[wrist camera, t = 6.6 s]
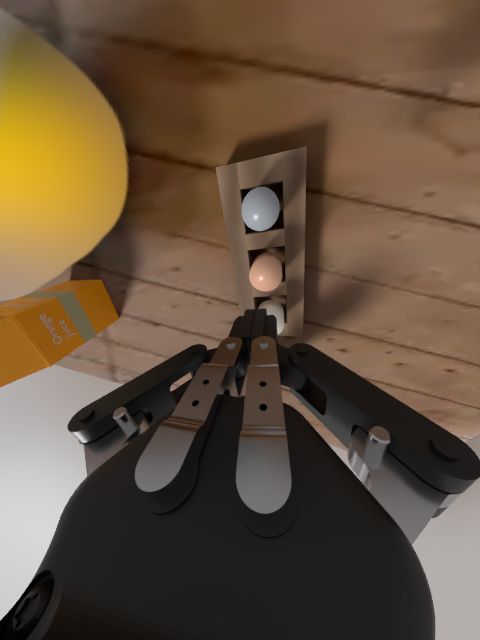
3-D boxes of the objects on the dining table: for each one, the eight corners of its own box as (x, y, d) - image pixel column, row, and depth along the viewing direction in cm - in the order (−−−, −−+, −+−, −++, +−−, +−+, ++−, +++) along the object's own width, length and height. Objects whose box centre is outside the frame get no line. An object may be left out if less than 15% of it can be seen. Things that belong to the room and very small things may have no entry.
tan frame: (303, 153, 22) (306, 146, 19) (301, 325, 34) (303, 335, 31) (222, 171, 24) (215, 167, 22) (246, 327, 36) (244, 336, 33)
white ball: (283, 299, 28) (283, 311, 25) (284, 321, 30) (284, 336, 27) (256, 300, 29) (253, 312, 26) (259, 322, 31) (256, 336, 28)
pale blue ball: (278, 186, 22) (278, 183, 18) (280, 225, 24) (280, 228, 20) (244, 193, 23) (238, 191, 19) (248, 229, 25) (244, 233, 21)
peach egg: (281, 250, 25) (281, 257, 21) (282, 279, 27) (282, 290, 23) (251, 254, 26) (247, 261, 22) (254, 282, 28) (251, 292, 24)
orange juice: (101, 279, 36) (-54, 342, 19) (120, 318, 40) (7, 398, 24) (68, 279, 38) (-103, 339, 21) (90, 318, 42) (-37, 392, 25)
